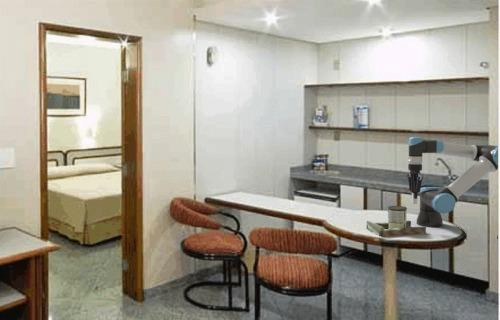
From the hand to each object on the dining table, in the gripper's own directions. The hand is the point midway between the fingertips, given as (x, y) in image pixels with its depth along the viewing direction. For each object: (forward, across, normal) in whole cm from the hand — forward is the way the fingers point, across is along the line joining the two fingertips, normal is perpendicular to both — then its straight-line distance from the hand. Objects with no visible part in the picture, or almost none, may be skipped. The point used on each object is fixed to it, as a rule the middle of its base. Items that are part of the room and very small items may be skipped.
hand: (414, 203), depth 271 cm
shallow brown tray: (+16, 0, -12) cm, 20 cm away
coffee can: (+16, 0, -11) cm, 19 cm away
